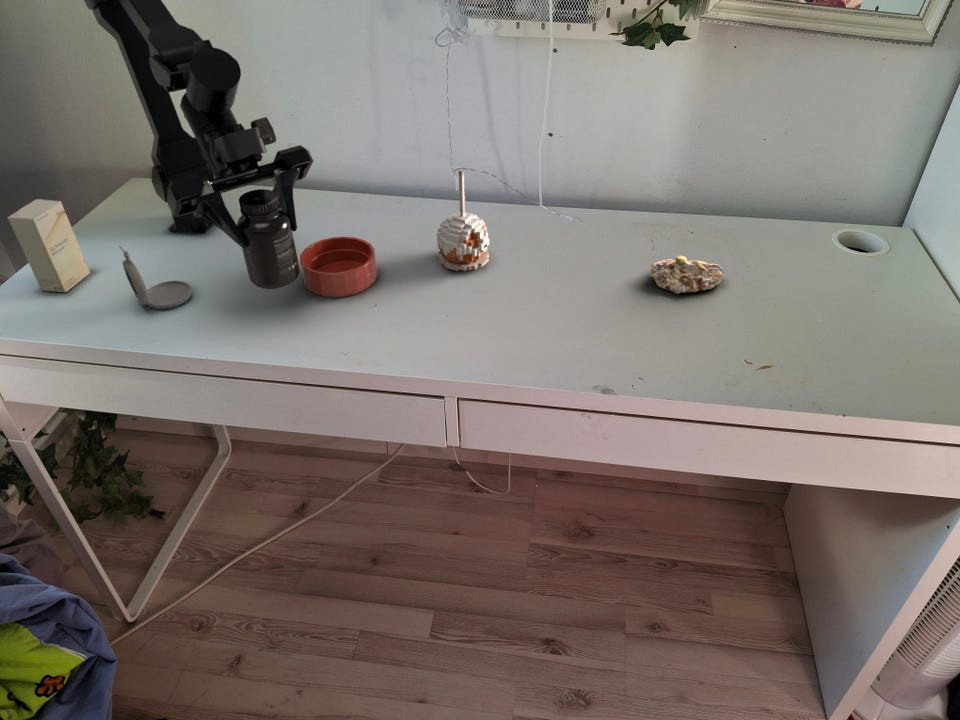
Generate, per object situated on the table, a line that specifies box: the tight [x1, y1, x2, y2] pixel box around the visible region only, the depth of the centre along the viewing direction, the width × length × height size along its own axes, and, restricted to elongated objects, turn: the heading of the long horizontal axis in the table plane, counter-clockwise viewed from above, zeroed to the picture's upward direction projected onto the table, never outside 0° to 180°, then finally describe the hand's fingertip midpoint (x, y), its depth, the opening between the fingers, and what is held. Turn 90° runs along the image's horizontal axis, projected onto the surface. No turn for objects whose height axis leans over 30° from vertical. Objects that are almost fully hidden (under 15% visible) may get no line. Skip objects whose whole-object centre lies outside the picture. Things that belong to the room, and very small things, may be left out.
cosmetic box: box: [7, 198, 91, 293], centre depth 105 cm, size 6×4×12 cm
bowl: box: [299, 236, 378, 298], centre depth 107 cm, size 11×11×4 cm
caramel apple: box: [436, 168, 490, 272], centre depth 108 cm, size 8×8×15 cm
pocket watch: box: [118, 245, 193, 310], centre depth 102 cm, size 8×8×10 cm
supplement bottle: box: [236, 188, 301, 290], centre depth 95 cm, size 7×7×12 cm
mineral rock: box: [650, 254, 725, 295], centre depth 106 cm, size 11×4×8 cm
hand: (270, 238), depth 94 cm, fingers closed on supplement bottle, 7 cm apart
